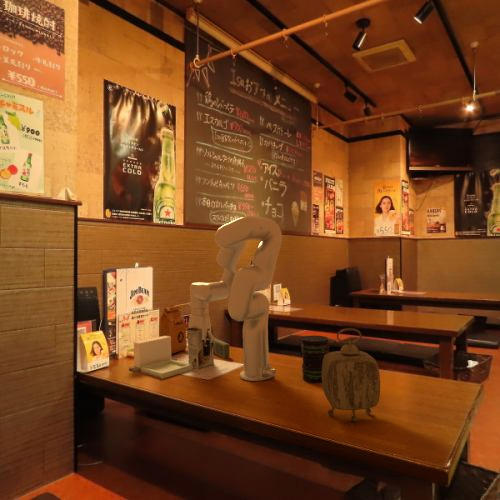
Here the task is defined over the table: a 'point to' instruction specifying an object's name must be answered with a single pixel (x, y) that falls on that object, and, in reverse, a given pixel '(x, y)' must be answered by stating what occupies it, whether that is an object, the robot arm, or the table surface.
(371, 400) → the tabletop clock
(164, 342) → the panel unit
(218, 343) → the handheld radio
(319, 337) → the storage jar
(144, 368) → the tray
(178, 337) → the coffee package
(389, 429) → the table surface
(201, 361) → the coffee box
